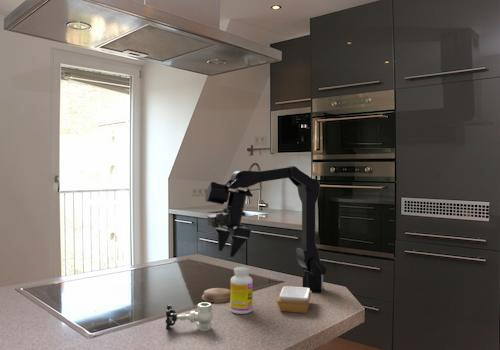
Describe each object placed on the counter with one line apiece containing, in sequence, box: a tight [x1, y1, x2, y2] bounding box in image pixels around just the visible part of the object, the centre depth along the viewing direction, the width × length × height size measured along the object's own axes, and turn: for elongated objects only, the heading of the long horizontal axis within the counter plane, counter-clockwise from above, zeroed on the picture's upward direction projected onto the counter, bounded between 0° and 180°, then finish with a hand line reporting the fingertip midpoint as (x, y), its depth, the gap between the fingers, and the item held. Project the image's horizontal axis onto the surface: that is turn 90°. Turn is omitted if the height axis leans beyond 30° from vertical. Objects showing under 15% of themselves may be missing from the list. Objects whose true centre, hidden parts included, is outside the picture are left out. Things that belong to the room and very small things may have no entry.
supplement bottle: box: [229, 266, 254, 315], centre depth 124 cm, size 7×7×13 cm
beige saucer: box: [201, 287, 231, 304], centre depth 136 cm, size 10×10×2 cm
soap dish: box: [276, 285, 313, 314], centre depth 128 cm, size 12×10×5 cm
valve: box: [165, 301, 213, 332], centre depth 110 cm, size 7×7×12 cm
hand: (225, 253), depth 136 cm, fingers open, 9 cm apart
